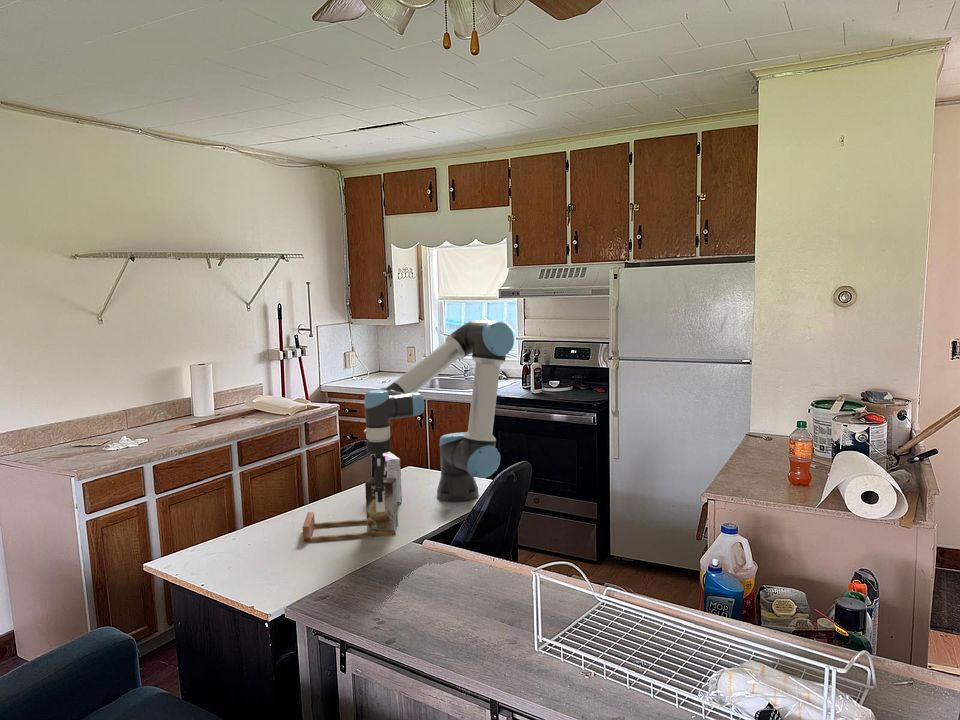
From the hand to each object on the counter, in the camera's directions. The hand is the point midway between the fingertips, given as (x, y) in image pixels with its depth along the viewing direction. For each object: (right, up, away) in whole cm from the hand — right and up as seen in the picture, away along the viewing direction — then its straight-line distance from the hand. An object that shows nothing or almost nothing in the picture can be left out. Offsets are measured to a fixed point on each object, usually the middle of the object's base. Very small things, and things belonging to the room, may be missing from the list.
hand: (380, 504), depth 215 cm
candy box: (-2, -5, +31) cm, 31 cm away
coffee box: (+1, -8, +1) cm, 8 cm away
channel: (-9, -8, 0) cm, 13 cm away
